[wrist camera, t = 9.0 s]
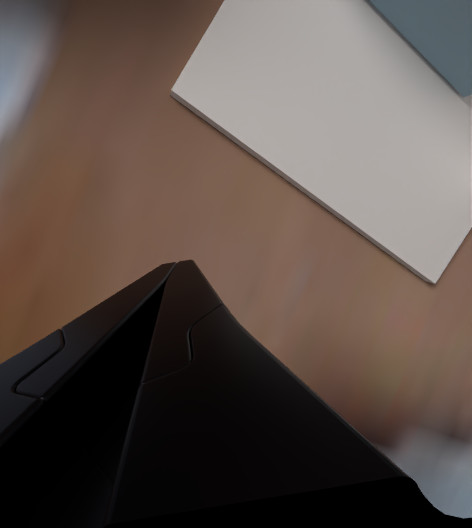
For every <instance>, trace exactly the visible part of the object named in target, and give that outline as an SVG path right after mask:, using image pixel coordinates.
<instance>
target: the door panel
mask: <svg viewBox="0 0 472 528" xmlns="http://www.w3.org/2000/svg"><path fill="white" fill-rule="evenodd" d="M369 1H370V2H371V3H372V4H373V5H374V6H375V7H376V8H377V9H378V10H379V11H380V12H381V13H382V14H383V15H384V16H385V17H386V18H387V19H388V20H389V21H390V22H391V23H392V24H393V25H394V26H395V27H396V28H397V29H398V30H399V31H400V32H401V34H402V35H403V36H404V37H405V38H406V39H407V40H408V41H409V42H410V43H411V44H412V45H413V46H414V47H415V48H416V49H417V50H418V51H419V52H420V53H421V54H422V55H423V56H424V57H425V58H426V59H427V60H428V61H429V62H430V63H431V64H432V65H433V66H434V67H435V68H436V69H437V70H438V72H439V73H440V74H441V75H442V76H443V77H444V78H445V79H446V80H447V81H448V82H449V83H450V84H451V85H452V86H453V87H454V88H455V89H456V90H457V91H458V92H459V93H460V94H461V95H462V96H463V97H466V96H469V95H472V0H369Z"/></svg>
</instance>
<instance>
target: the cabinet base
mask: <svg viewBox="0 0 472 528" xmlns="http://www.w3.org/2000/svg"><path fill="white" fill-rule="evenodd" d="M171 96H172V97H173V98H175V99H176V100H177V101H179V102H180V103H181V104H183V105H184V106H186V107H187V108H188V109H190V110H191V111H192V112H194V113H195V114H197V115H198V116H199V117H201V118H202V119H203V120H205V121H206V122H208V123H209V124H210V125H212V126H213V127H214V128H216V129H217V130H218V131H220V132H221V133H223V134H224V135H225V136H227V137H228V138H229V139H231V140H232V141H234V142H235V143H236V144H238V145H239V146H240V147H242V148H243V149H245V150H246V151H247V152H249V153H250V154H251V155H253V156H254V157H256V158H257V159H258V160H260V161H261V162H262V163H264V164H265V165H266V166H268V167H269V168H271V169H272V170H273V171H275V172H276V173H277V174H279V175H280V176H282V177H283V178H284V179H286V180H287V181H288V182H290V183H291V184H293V185H294V186H295V187H297V188H298V189H299V190H301V191H302V192H304V193H305V194H306V195H308V196H309V197H310V198H312V199H313V200H315V201H316V202H317V203H319V204H320V205H321V206H323V207H324V208H325V209H327V210H328V211H330V212H331V213H332V214H334V215H335V216H336V217H338V218H339V219H341V220H342V221H343V222H345V223H346V224H347V225H349V226H350V227H352V228H353V229H354V230H356V231H357V232H358V233H360V234H361V235H363V236H364V237H365V238H367V239H368V240H369V241H371V242H372V243H373V244H375V245H376V246H378V247H379V248H380V249H382V250H383V251H384V252H386V253H387V254H389V255H390V256H391V257H393V258H394V259H395V260H397V261H398V262H400V263H401V264H402V265H404V266H405V267H406V268H408V269H409V270H411V271H412V272H413V273H415V274H416V275H417V276H419V277H420V278H421V279H423V280H424V281H427V282H430V283H434V284H436V282H437V280H438V279H439V277H440V276H441V274H442V273H443V271H444V270H445V268H446V266H447V265H448V263H449V262H450V260H451V259H452V257H453V256H454V254H455V252H456V251H457V249H458V248H459V246H460V245H461V243H462V241H463V240H464V238H465V237H466V235H467V234H468V232H469V231H470V229H471V227H472V95H469V96H466V97H463V96H462V95H461V94H460V93H459V92H458V91H457V90H456V89H455V88H454V87H453V86H452V85H451V84H450V83H449V82H448V81H447V80H446V79H445V78H444V77H443V76H442V75H441V74H440V73H439V72H438V70H437V69H436V68H435V67H434V66H433V65H432V64H431V63H430V62H429V61H428V60H427V59H426V58H425V57H424V56H423V55H422V54H421V53H420V52H419V51H418V50H417V49H416V48H415V47H414V46H413V45H412V44H411V43H410V42H409V41H408V40H407V39H406V38H405V37H404V36H403V35H402V34H401V32H400V31H399V30H398V29H397V28H396V27H395V26H394V25H393V24H392V23H391V22H390V21H389V20H388V19H387V18H386V17H385V16H384V15H383V14H382V13H381V12H380V11H379V10H378V9H377V8H376V7H375V6H374V5H373V4H372V3H371V2H370V1H369V0H224V2H223V4H222V5H221V7H220V9H219V10H218V12H217V14H216V16H215V17H214V19H213V21H212V22H211V24H210V26H209V27H208V29H207V31H206V32H205V34H204V36H203V37H202V39H201V41H200V42H199V44H198V46H197V48H196V49H195V51H194V53H193V54H192V56H191V58H190V59H189V61H188V63H187V64H186V66H185V68H184V69H183V71H182V73H181V74H180V76H179V78H178V79H177V81H176V83H175V85H174V86H173V88H172V90H171Z"/></svg>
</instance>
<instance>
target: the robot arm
mask: <svg viewBox="0 0 472 528" xmlns="http://www.w3.org/2000/svg"><path fill="white" fill-rule="evenodd" d="M0 528H472V518H459V517H454V516H450V515H445V514H444V513H442V512H441V511H439V510H438V509H436V508H435V507H434V506H433V505H432V504H431V503H430V502H429V501H428V500H427V499H426V498H425V496H424V495H423V494H422V492H421V491H420V489H419V487H418V485H417V483H416V482H415V481H414V480H413V479H411V478H410V477H409V476H408V475H406V474H405V473H404V472H403V471H402V470H401V469H400V468H399V467H397V466H396V465H395V464H394V463H393V462H392V461H391V460H390V459H389V458H387V457H386V456H385V455H384V454H383V453H382V452H381V451H380V450H379V449H377V448H376V447H375V446H374V445H373V444H372V443H371V442H370V441H369V440H367V439H366V438H365V437H364V436H363V435H362V434H361V433H360V432H359V431H357V430H356V429H355V428H354V427H353V426H352V425H351V424H350V423H348V422H347V421H346V420H345V419H344V418H343V417H342V416H341V415H340V414H338V413H337V412H336V411H335V410H334V409H333V408H332V407H331V406H330V405H328V404H327V403H326V402H325V401H324V400H323V399H322V398H321V397H320V396H318V395H317V394H316V393H315V392H314V391H313V390H312V389H311V388H310V387H308V386H307V385H306V384H305V383H304V382H303V381H302V380H301V379H300V378H298V377H297V376H296V375H295V374H294V373H293V372H292V371H291V370H290V369H288V368H287V367H286V366H285V365H284V364H283V363H282V362H281V361H280V360H278V359H277V358H276V357H275V356H274V355H273V354H272V353H271V352H270V351H268V350H267V349H266V348H265V347H264V346H263V345H262V344H261V343H260V342H258V341H257V340H256V339H255V338H254V337H253V336H252V335H251V334H250V333H249V332H248V331H247V330H246V329H245V328H244V327H243V326H242V325H240V324H239V322H238V321H237V320H236V319H235V317H234V316H233V315H232V314H231V313H230V311H229V310H228V308H227V307H226V306H225V305H224V303H223V302H222V300H221V299H220V298H219V296H218V295H217V293H216V292H215V290H214V289H213V288H212V286H211V285H210V283H209V282H208V281H207V279H206V278H205V276H204V275H203V273H202V272H201V271H200V269H199V268H198V266H197V265H196V263H195V262H194V261H193V260H186V261H180V262H178V263H176V262H172V263H166V264H162V265H160V266H159V267H157V268H155V269H154V270H152V271H151V272H149V273H147V274H146V275H144V276H143V277H141V278H140V279H138V280H136V281H135V282H133V283H132V284H130V285H128V286H127V287H125V288H124V289H122V290H120V291H119V292H117V293H116V294H114V295H113V296H111V297H109V298H108V299H106V300H105V301H103V302H101V303H100V304H98V305H97V306H95V307H94V308H92V309H90V310H89V311H87V312H86V313H84V314H82V315H81V316H79V317H78V318H76V319H74V320H73V321H71V322H70V323H68V324H67V325H65V326H63V327H62V329H57V330H56V331H54V332H53V333H51V334H50V335H48V336H46V337H45V338H43V339H41V340H40V341H38V342H37V343H35V344H33V345H32V346H30V347H28V348H27V349H25V350H23V351H22V352H20V353H18V354H17V355H15V356H13V357H12V358H10V359H8V360H6V361H5V362H3V363H1V364H0Z"/></svg>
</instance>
